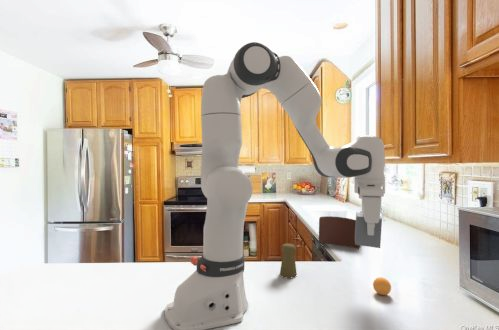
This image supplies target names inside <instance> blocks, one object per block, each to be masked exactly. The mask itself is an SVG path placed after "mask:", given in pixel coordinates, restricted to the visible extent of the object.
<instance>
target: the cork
mask: <svg viewBox="0 0 499 330" xmlns="http://www.w3.org/2000/svg"><path fill="white" fill-rule="evenodd" d="M296 252H297V247H296V245H294V244H293V243H283V244H282V246H281V253H282V257H281V262H280V263H281V264H280V271H279V276H280V277H282V276H283V277H282V278H284V277H287V278H286V279H292V278H291V277H295V276H296V275H297V265H296V257H295V254H296ZM297 276H298V275H297ZM297 276H296V277H297ZM296 277H295V278H296Z"/></svg>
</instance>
